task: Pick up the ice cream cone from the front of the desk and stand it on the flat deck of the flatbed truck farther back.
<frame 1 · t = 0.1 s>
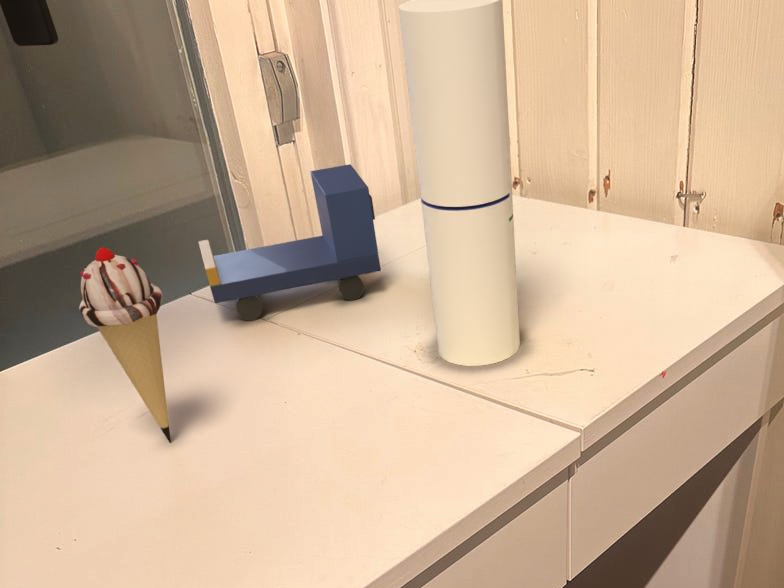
cylindrical container: (479, 349, 80), on the table
flatbed truck: (297, 296, 91), on the table
ice cream cone: (171, 445, 72), on the table
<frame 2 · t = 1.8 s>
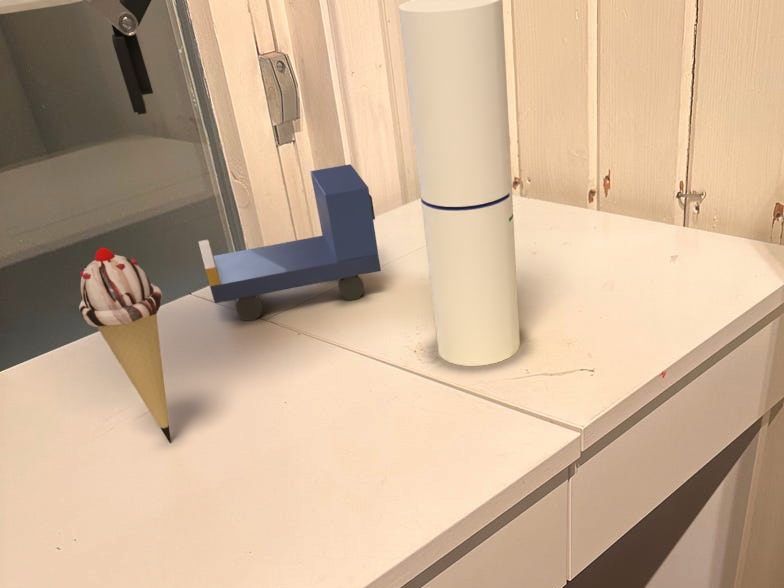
hand: (61, 123, 56), 23 cm above the table, tool pointing down, fingers open, 9 cm apart
nothing on the table moved.
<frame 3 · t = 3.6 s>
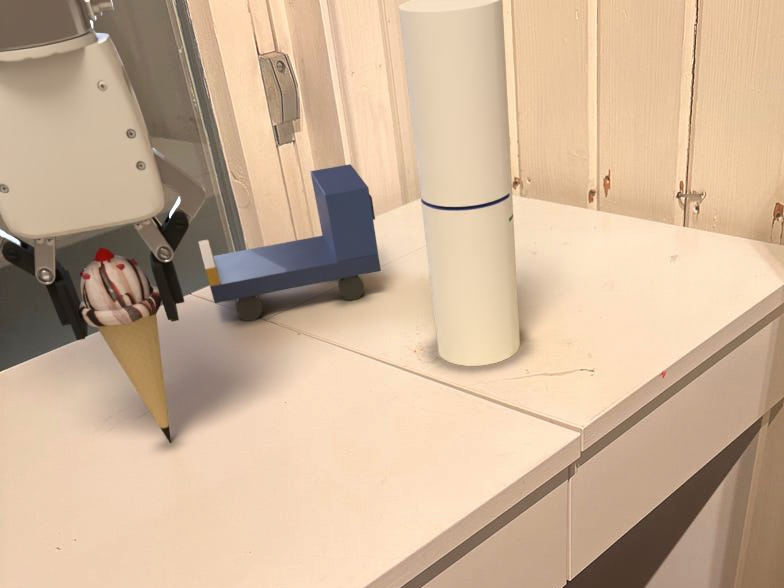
hand: (127, 320, 65), 10 cm above the table, tool pointing down, fingers closed on ice cream cone, 5 cm apart
ice cream cone: (171, 445, 72), on the table, touching gripper
everything else where it was.
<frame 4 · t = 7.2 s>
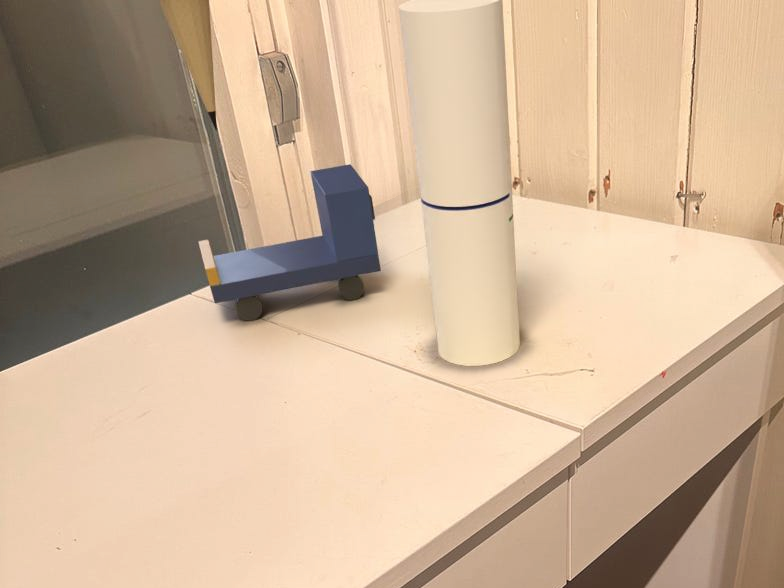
ice cream cone: (217, 133, 77), point 16 cm above the table, touching gripper
everything else where it was.
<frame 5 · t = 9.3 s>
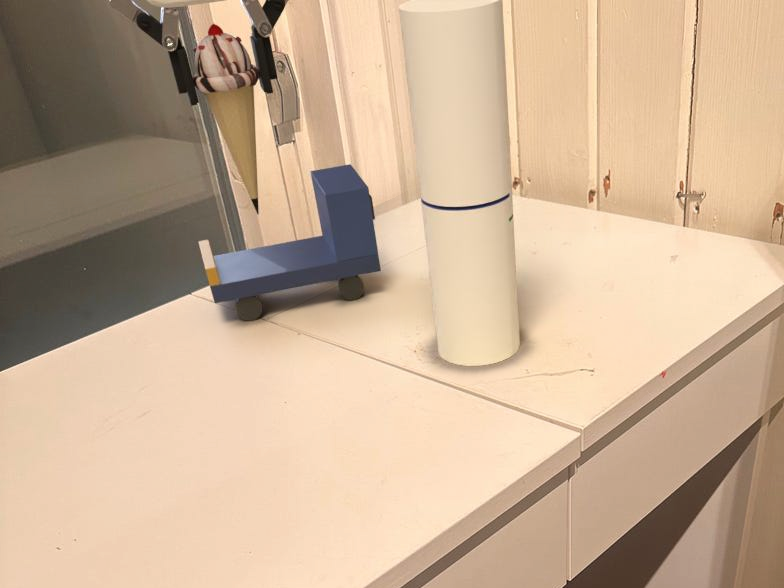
hand: (230, 93, 78), 18 cm above the table, tool pointing down, fingers closed on ice cream cone, 5 cm apart
ice cream cone: (259, 217, 85), point 8 cm above the table, touching gripper
everything else where it was.
when the fingers open (14 cm above the table, at t = 10.8 s): ice cream cone stays where it is, resting on flatbed truck.
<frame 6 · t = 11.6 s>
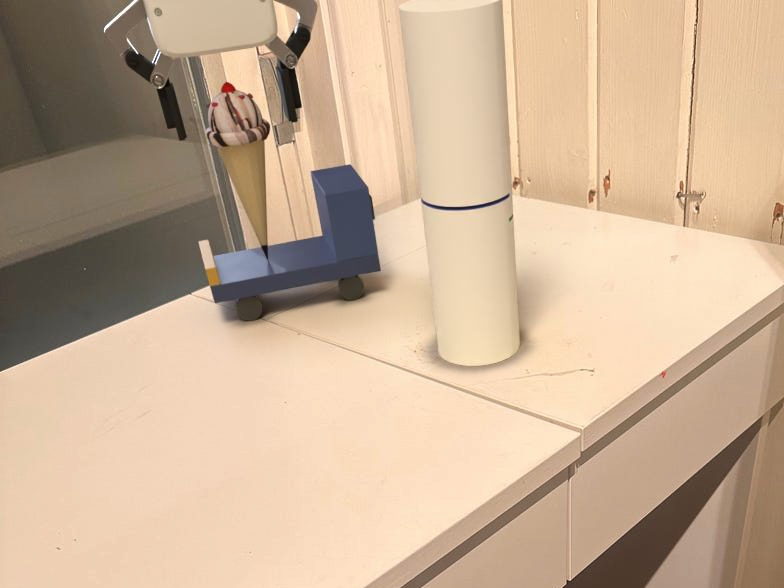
hand: (237, 127, 80), 15 cm above the table, tool pointing down, fingers open, 9 cm apart
ice cream cone: (268, 262, 88), point 4 cm above the table, touching flatbed truck
everything else where it was.
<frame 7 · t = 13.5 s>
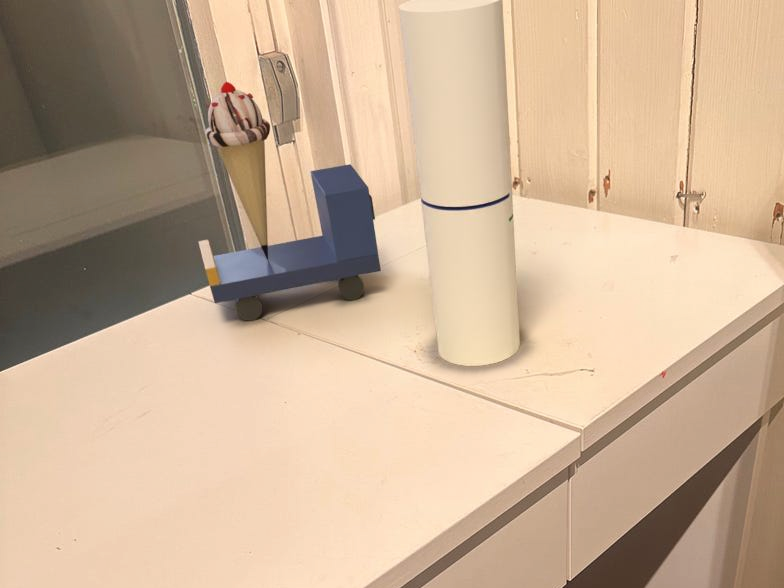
nothing on the table moved.
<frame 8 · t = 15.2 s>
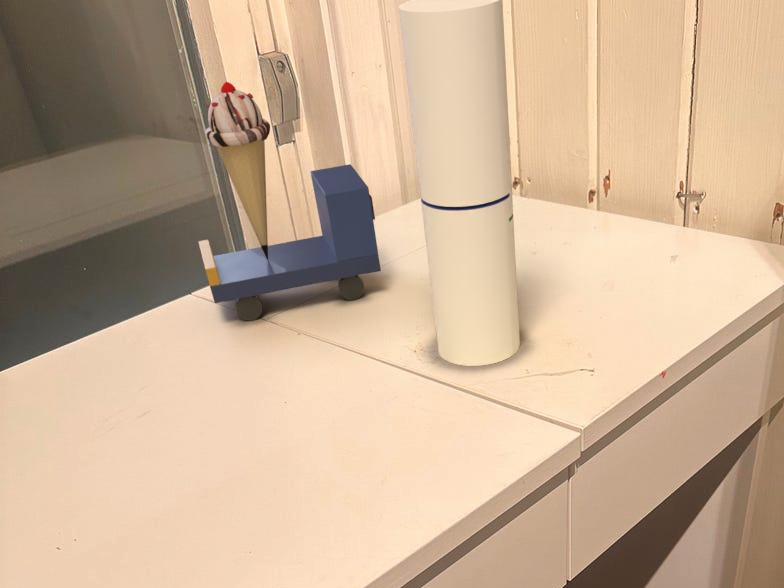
nothing on the table moved.
at the end: ice cream cone inside the target area on the flatbed truck (0.6 cm from its centre), point 3.8 cm above the flatbed truck's base; ice cream cone tilted 0° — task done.
